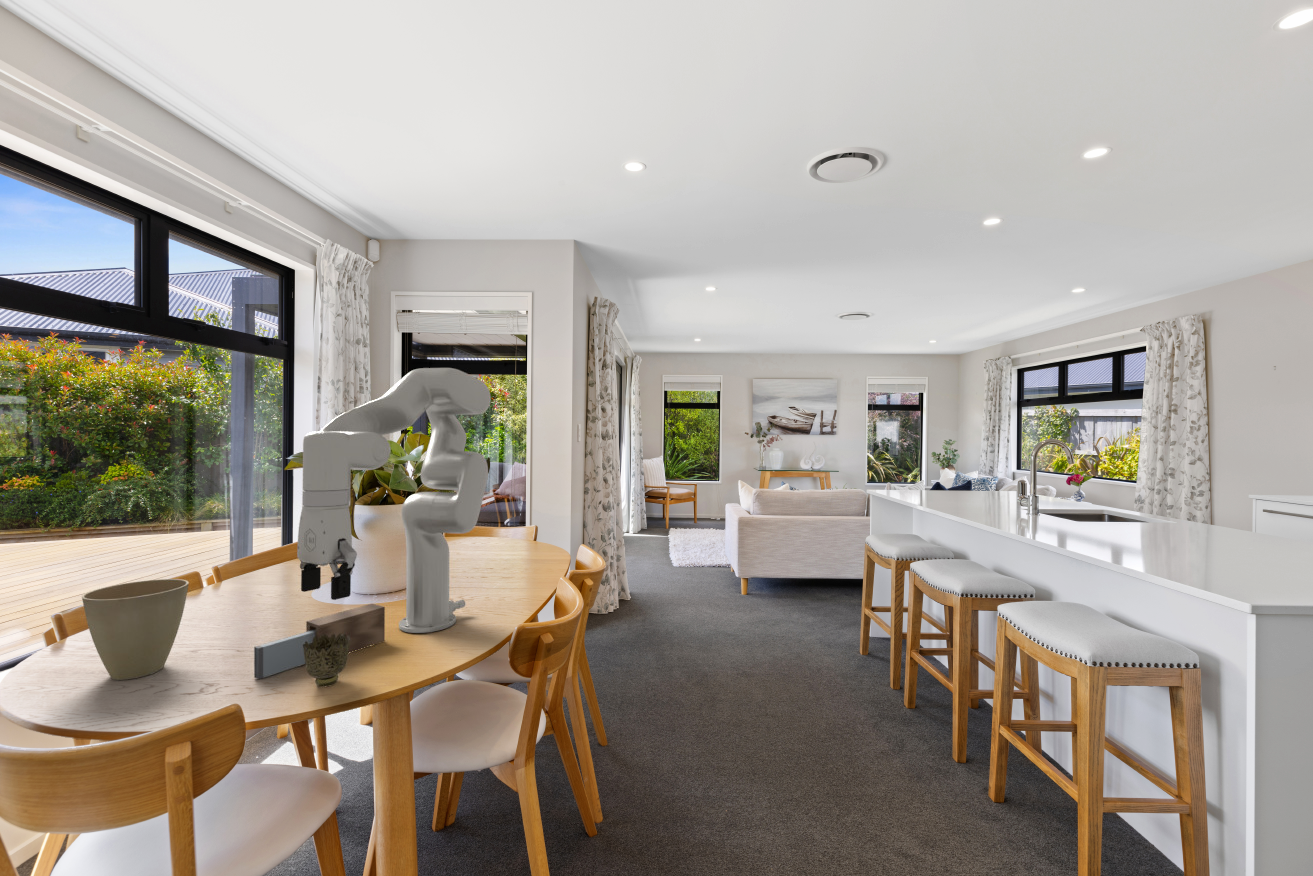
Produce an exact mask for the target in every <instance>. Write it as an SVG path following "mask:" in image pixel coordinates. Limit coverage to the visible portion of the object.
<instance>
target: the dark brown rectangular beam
mask: <svg viewBox="0 0 1313 876" xmlns="http://www.w3.org/2000/svg"><path fill="white" fill-rule="evenodd" d="M385 611H386V608H385V606H383V605H380V604H375V603H369V604H365V605H362V606H358V607H353V608H350V609H348V610H347V609H346V610H343V611H339V612H337V613H331V614H329V615H324V616H321V617H317V618H314V619H309V620H306V622H305V623H306V627H305V628H306V631H305V632H308V631H311V630H315V629H316V637H317V638H319V637H320V636H322V635H323V634H325V635H327V636H328V637H330V638H331V635H332V634H335V637H336V638H337V636H338V635H339V634H340V633H341V634H342V635H344V634H345V635H346V637H348V636H349V638H350V644H349V652H352V651H355V650H358V649H361V648H364V647H367V646H370V645H373V644H376V645H378V644H377V643H379V644H381V643H380V642H382V643H384V642H383V641H385V634H386V631H385V630H386V629H385V628H386V627H385V626H386V625H385V624H386V620H385V616H386V615H385V613H386V612H385ZM373 646H374V645H373ZM370 647H371V646H370ZM367 648H368V647H367ZM364 649H365V648H364ZM361 650H362V649H361ZM358 651H359V650H358ZM349 652H348V653H349ZM355 652H356V651H355ZM352 653H353V652H352ZM349 654H350V653H349Z"/></svg>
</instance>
